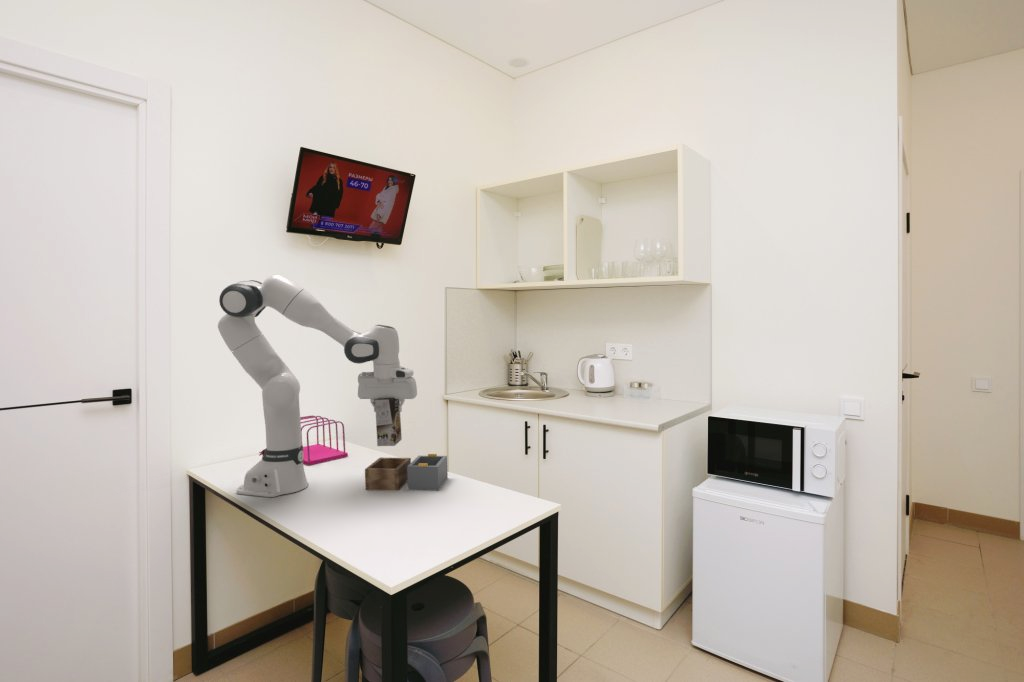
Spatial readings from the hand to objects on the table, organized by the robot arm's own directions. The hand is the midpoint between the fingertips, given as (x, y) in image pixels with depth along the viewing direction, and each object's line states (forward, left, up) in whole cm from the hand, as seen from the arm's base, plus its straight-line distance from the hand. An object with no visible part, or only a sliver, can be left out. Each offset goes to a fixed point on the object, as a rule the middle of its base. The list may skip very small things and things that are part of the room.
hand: (387, 411), depth 183 cm
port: (+14, 0, -25) cm, 29 cm away
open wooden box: (0, 0, -25) cm, 25 cm away
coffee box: (0, 0, -11) cm, 11 cm away
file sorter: (-45, +34, -26) cm, 61 cm away
